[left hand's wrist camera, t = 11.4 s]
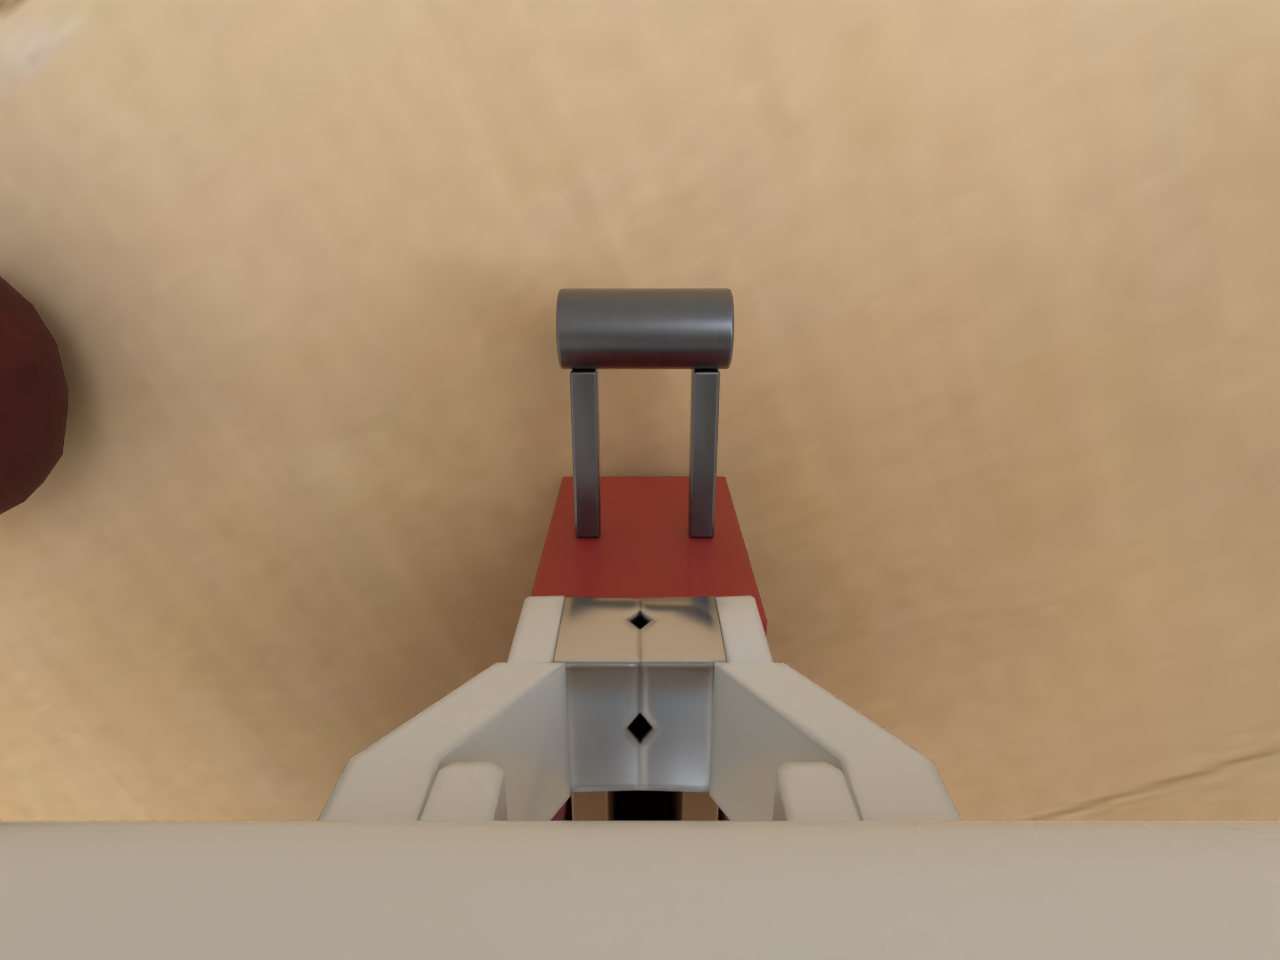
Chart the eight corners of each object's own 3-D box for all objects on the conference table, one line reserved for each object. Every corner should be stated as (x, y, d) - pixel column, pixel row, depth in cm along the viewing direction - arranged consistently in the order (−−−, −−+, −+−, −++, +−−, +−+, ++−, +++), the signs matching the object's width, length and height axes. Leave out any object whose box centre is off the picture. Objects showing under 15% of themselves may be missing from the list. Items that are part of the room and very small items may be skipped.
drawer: (554, 270, 20) (504, 317, 13) (733, 270, 20) (788, 318, 13) (581, 958, 29) (560, 1221, 22) (705, 958, 29) (727, 1222, 22)
